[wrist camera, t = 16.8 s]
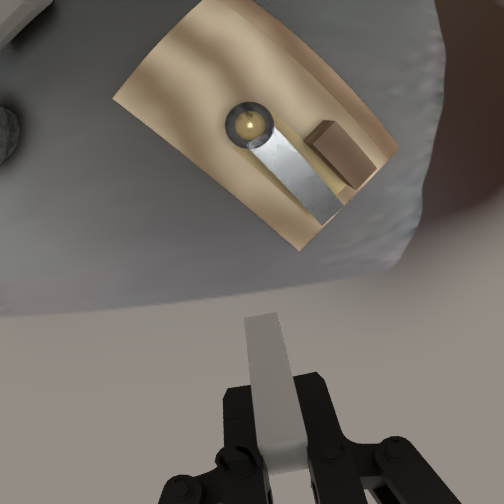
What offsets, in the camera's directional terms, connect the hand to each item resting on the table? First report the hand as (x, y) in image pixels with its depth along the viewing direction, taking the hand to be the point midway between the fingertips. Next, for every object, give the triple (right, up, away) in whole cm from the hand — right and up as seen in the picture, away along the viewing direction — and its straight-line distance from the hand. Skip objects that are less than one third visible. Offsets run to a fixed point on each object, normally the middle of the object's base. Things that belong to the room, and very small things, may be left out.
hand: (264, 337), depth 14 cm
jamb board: (+1, +17, +13) cm, 22 cm away
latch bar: (+2, +13, +14) cm, 19 cm away
